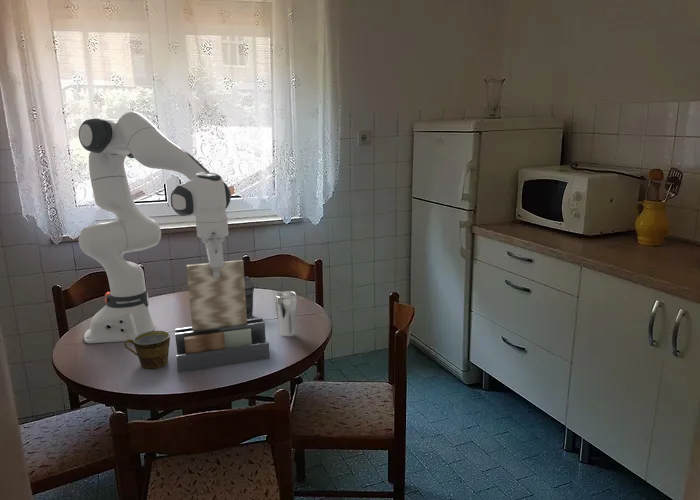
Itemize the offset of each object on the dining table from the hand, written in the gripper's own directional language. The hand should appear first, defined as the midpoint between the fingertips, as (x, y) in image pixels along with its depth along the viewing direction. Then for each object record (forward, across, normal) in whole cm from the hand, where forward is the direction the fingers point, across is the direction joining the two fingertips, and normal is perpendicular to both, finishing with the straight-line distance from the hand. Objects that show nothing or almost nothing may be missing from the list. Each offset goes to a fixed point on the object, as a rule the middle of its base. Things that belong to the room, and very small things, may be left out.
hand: (216, 275), depth 153 cm
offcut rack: (+26, -2, 0) cm, 26 cm away
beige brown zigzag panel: (+16, 0, 0) cm, 16 cm away
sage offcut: (+25, -4, -4) cm, 25 cm away
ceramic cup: (+26, 0, +21) cm, 34 cm away
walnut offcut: (+25, -6, +5) cm, 26 cm away
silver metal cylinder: (+26, +8, -22) cm, 36 cm away
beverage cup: (+27, +32, -11) cm, 43 cm away
